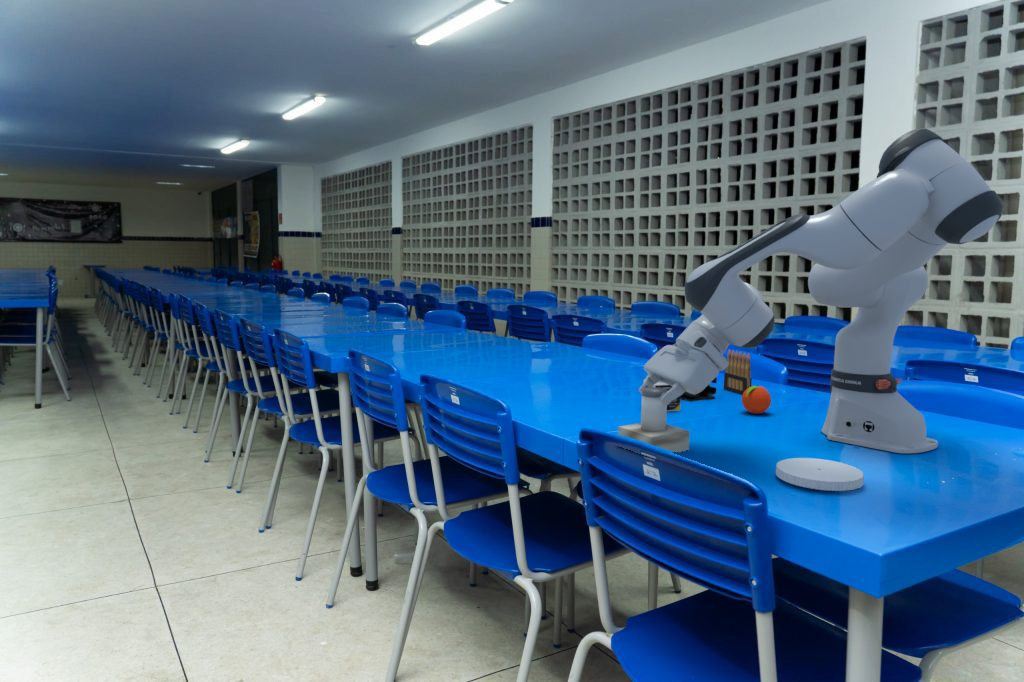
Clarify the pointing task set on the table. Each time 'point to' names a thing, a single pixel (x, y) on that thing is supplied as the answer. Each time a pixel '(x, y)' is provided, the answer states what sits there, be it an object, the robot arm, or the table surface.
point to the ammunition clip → (737, 373)
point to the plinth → (659, 437)
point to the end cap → (701, 394)
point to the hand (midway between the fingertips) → (651, 397)
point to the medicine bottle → (675, 403)
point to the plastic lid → (819, 474)
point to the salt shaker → (653, 410)
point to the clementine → (756, 399)
